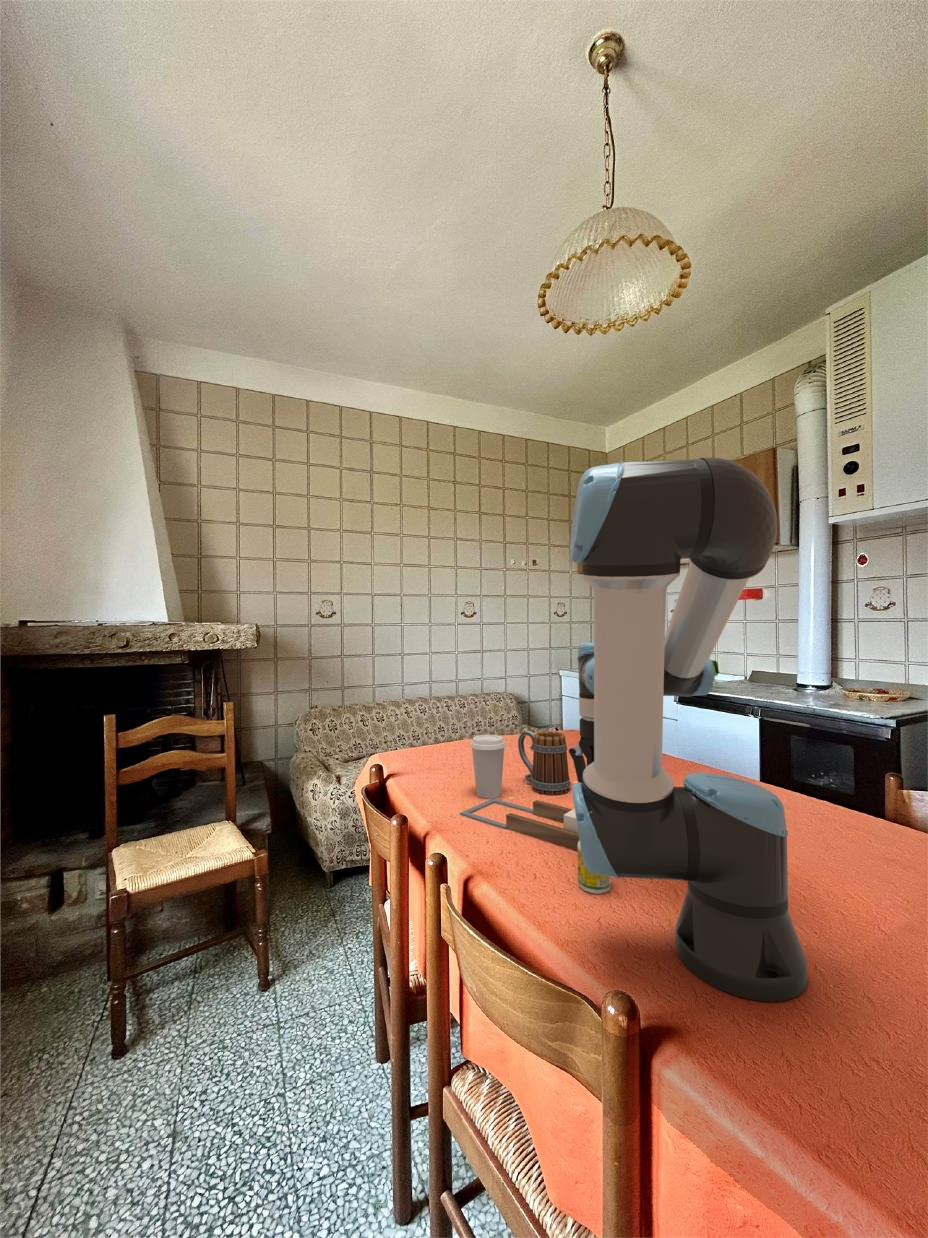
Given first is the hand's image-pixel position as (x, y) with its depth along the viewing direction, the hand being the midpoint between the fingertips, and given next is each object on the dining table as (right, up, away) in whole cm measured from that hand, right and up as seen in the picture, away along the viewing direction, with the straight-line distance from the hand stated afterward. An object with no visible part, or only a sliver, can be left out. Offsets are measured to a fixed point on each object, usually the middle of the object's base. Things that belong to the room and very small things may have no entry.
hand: (600, 833), depth 100 cm
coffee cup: (-21, -3, +31) cm, 37 cm away
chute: (-6, -2, +5) cm, 9 cm away
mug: (-6, -3, +36) cm, 37 cm away
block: (-3, -2, +2) cm, 4 cm away
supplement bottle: (-6, -2, -16) cm, 18 cm away
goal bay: (-19, -3, +17) cm, 25 cm away
